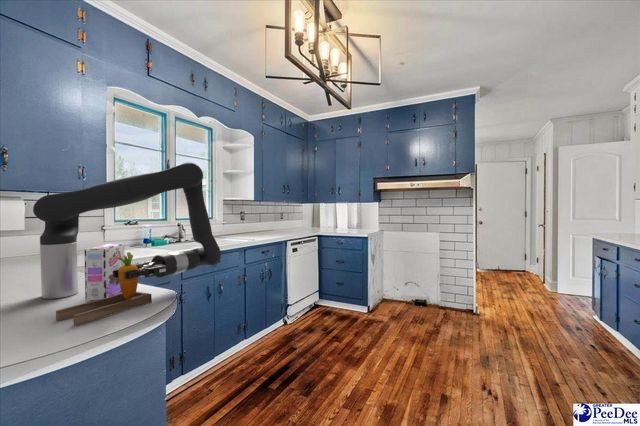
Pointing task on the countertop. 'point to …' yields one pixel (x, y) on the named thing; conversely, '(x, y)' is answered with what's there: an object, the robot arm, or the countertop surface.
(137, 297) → the guide channel
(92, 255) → the candy box
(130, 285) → the carrot
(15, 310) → the countertop surface
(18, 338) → the countertop surface
